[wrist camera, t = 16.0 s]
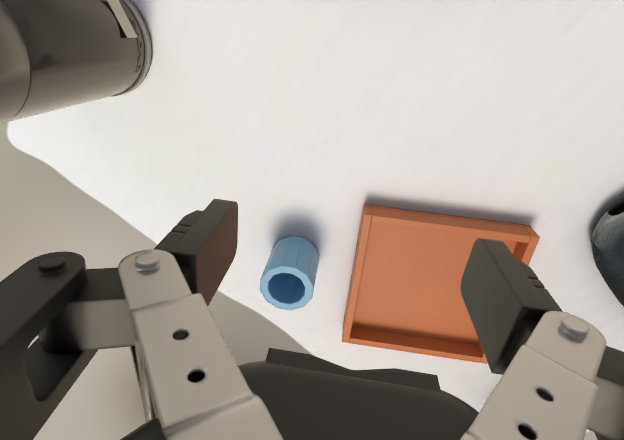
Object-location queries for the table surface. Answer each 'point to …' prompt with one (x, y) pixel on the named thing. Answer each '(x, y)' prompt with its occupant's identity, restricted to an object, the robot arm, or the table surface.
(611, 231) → the electronic device
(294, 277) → the blue hollow tube
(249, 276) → the table surface
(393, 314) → the tray
